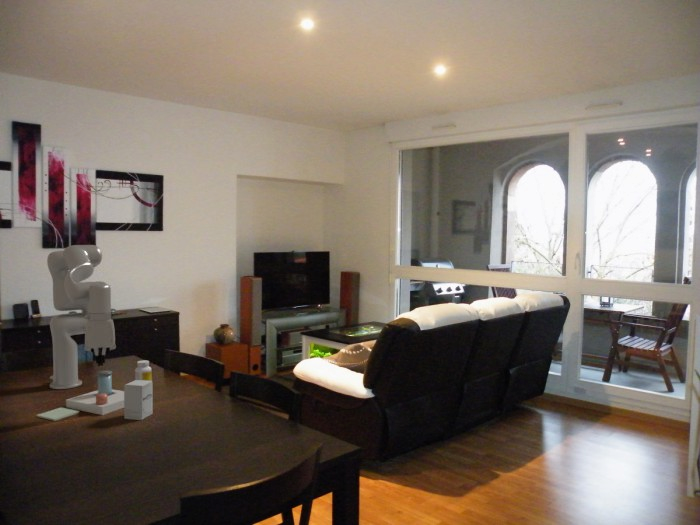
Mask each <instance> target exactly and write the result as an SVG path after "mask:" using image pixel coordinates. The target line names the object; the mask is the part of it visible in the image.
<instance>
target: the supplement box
mask: <svg viewBox="0 0 700 525" xmlns="http://www.w3.org/2000/svg"><path fill="white" fill-rule="evenodd" d="M123 386H124V388H123V391H124V410H123V411H124V414H123V416H124V419H127V420H137V421H143V420H144V419H146V418H148V417H149V416H152V415H153V410H154V406H153V405H154V402H153V401H154V399H153V398H154V396H153V393H154V391H153V390H154V388H153V380H152V381H146V380H135V379H134V380H133V381H130V382H128V383H125V384H124V385H123Z"/></svg>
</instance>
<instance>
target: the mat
mask: <svg viewBox="0 0 700 525" xmlns="http://www.w3.org/2000/svg"><path fill="white" fill-rule="evenodd" d="M77 414H80V410H76V409H72V408H67V407H63V406H61V407H58V408H55V409H52V410H48V411H45V412H42V413H38V414H36V417H37V418H41V419H45V420H50V421H52V422H54V421H58V420H61V419H64V418H67V417H70V416H74V415H77Z"/></svg>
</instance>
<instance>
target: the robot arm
mask: <svg viewBox="0 0 700 525" xmlns="http://www.w3.org/2000/svg"><path fill="white" fill-rule="evenodd" d="M46 260H47V263H46V265H47V268H48V271H49V274H50V276H51V279H52V301H53V302H52V303H53V307H54V309H55V310H56V311H59V312H70V311H78V310H79V311H81V312H74V313H72V312H71V313H60V314H57V315H54V316H53V317H51V319H50V321H49V328H50V333H51V338H52V339H51V340H52V341H51V342H52V359H53V360H52V361H53V363H52V364H53V365H52V366H53V368H52V369H53V372H52V375H50V377H49V380H52V382H50V384H49V388H50V389H53V390H66V389H72V388H77V387H80V386H81V385H82V384H83V380H81V379H79V366H78V365H79V364H78V362H79V360H78V357H79V356H78V344H77V342H76V340H74V339H73V338H72V337H71V336H75V335H77V336H78V335H83V334H84V351H87V352H91V353H93V354H94V355H95V363H96V364H97V367H100V366H101V367H103V366H104V364H106V354H108V352H109V351H112V350H113V351H114V350H115V349H117V345H116V332H115V331H116V329H115V324H114V319H113V318H112V298H111V297H112V296H111V295H112V294H111V293H112V290H111V289H112V288H111V285H110V284H108V283H106V282H105V281H86V280H87V279H89V278H90V277H92V275H93V274H94V271H95V270H94V269H95V268H96V267H97V266H99V265H100V264H101V263H102V260H103V253H102V251H101V249H100V247H98V246H97V245H95V244H73V245H69V246H67V247H65V248H64V249H63V250H54V251H51V252H50V253H49V254H48V255H47V258H46ZM100 349H102V351H101V352H100Z"/></svg>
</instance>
